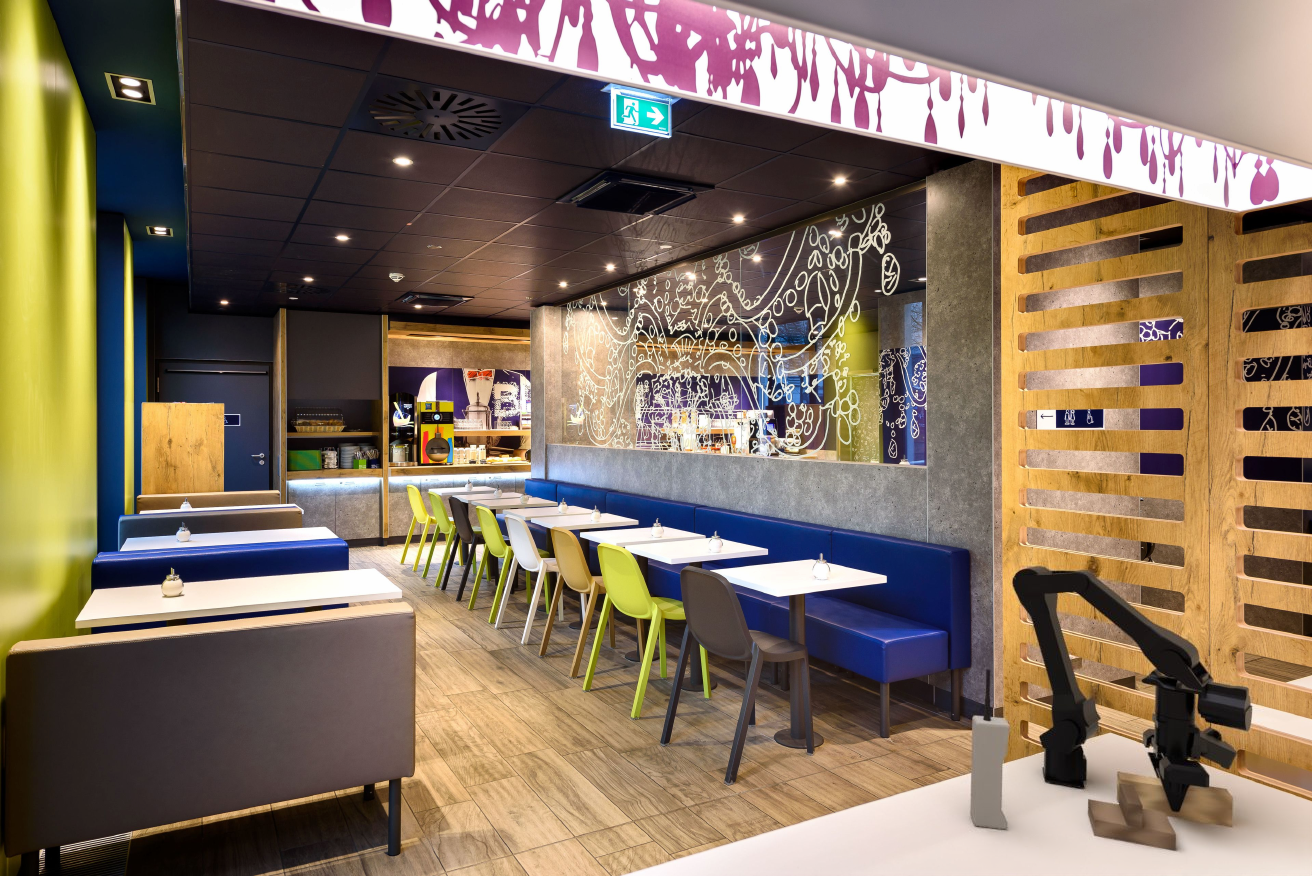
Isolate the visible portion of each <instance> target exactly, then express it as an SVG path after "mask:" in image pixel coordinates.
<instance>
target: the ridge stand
mask: <svg viewBox="0 0 1312 876" xmlns="http://www.w3.org/2000/svg"><path fill="white" fill-rule="evenodd" d="M1087 815H1088V820H1089V822H1090V825H1091V828H1092V832H1093V836H1095V837H1101V838H1108V839H1111V840H1112V839H1113V840H1117V841H1122V842H1123V841H1124V842H1128V843H1134V844H1138V845H1144V846H1150V847H1155V848H1160V849H1165V850H1171V851H1176V849H1177V846H1176V845H1177V833H1176V832H1175V829H1174V828H1173V825H1172V823H1171V822H1170V820H1169V818H1168V816H1166V814H1165V812H1160V811H1154V810H1148V809H1143V805H1142V803H1141V801H1140V799H1139V797H1138V795H1137V792H1136V790H1135V788H1134V786H1133V785H1127V784H1121V783H1119V804H1118V803H1112V802H1107V801H1102V800H1097V799H1096V800H1095V799H1090V798H1088V799H1087Z"/></svg>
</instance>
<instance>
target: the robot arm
mask: <svg viewBox="0 0 1312 876" xmlns="http://www.w3.org/2000/svg"><path fill="white" fill-rule="evenodd" d="M1011 581H1012V582H1011V583H1012V584H1011V585H1012V588H1013V590H1014V592H1015V595H1016V596H1017V599H1018V601H1019V602H1020V603H1019V604H1021V606H1022V607H1023V609H1024V610H1025V611H1026V612H1027V614H1028V616H1029V617H1030V619H1031V621H1032V622H1031V623H1032V626H1033V630H1034V633H1035V637H1036V640H1037V644H1038V646H1039V650H1040V653H1041V657H1042V660H1043V663H1044V664H1043V665H1044V668H1045V671H1046V674H1047V678H1048V682H1049V685H1050V689H1051V691H1052V692H1051V693H1052V698H1051V699H1052V700H1051V709H1050V710H1051V720H1052V721H1051V722H1052V727H1051V728H1049V729H1047V730H1046V731H1045V732H1043V733H1041V734H1040V735H1039V737H1038V738H1039V741H1040V744H1041V747H1042V749H1043V766H1042V767H1041V768H1042V770H1041V771H1042V774H1043V780H1044V782H1046V783H1050V784H1057V785H1063V786H1068V787H1073V788H1078V789H1079V788H1081V789H1085V787H1086V786H1085V783H1086V782H1087V773H1088V759H1087V756H1086V755H1085V754H1084V753H1085V752H1084V749H1083V746H1082V745H1085V744H1086V742H1087V741H1088V739H1090V738H1091V737H1093V736H1094V735H1096V733H1097V732H1098V730H1099V721H1100V720H1102V718H1101V716H1100V714H1099V713H1098V710H1097V708H1096V701H1095V697H1093V696H1090V697H1086V696H1085V695H1084V693H1083V692H1082V691H1081V689H1080V688H1079V685H1078V682H1077V681H1078V680H1077V678H1076V674H1075V671H1074V667H1073V664H1072V661H1071V657H1070V654H1069V650H1068V647H1067V644H1066V641H1065V637H1064V636H1065V635H1064V633H1063V630H1062V626H1061V624H1060V621H1059V616H1058V612H1057V611H1058V610H1057V609H1058V597H1059V594H1067V593H1069V594H1070V593H1075V594H1077V595H1079V596H1080V598H1082V599H1083V600H1085V601H1086V602H1087V603H1089V604H1090V606H1092V607H1094V608H1095V610H1097V611H1098V612H1099V613H1100V614H1102V615H1103V616H1104V617H1106V619H1108V620H1109V621H1110V622H1111V623H1112V624H1114V625H1115V626H1116V627H1118V628H1119V629H1120V630H1121V631H1122V632H1124V633H1125V634H1126V635H1128V636H1129V638H1131V639H1132V641H1134V642H1135V644H1136V645H1137V646H1138V648H1139V649H1140V651H1141V652H1142V654H1143V656H1145V658H1146V659H1147V660H1148V661H1149V663H1151V664H1152V665H1153V667H1154V669H1153V670H1152V671H1151V672H1149V674H1148V675H1146V676H1145V677H1143V678H1142V679H1141V683H1142V684H1145V685H1146V684H1147V685H1150V686H1154V687H1155V694H1154V698H1155V699H1154V713H1152V714H1151V720H1152V721H1153V723H1154V728H1148V729H1146V730H1144V731H1143V732H1142V744H1143V745H1144V748H1146V749H1150V748H1151V746H1152V748H1153V749H1152V751H1148V752H1147V756H1148V758H1149V761H1150V762H1151V765H1152V767H1153V771H1154V773H1155V775H1156V778H1160V781H1161V783H1162V786H1163V789H1164V792H1165V794H1166V797H1167V800H1168V802H1169V805H1170V808H1171V810H1172V811H1173V812H1180V809H1181V806H1182V804H1183V801H1184V798H1185V796H1186V793H1187V790H1188V788H1189V786H1190V785H1192V786H1199V787H1205V788H1207V787H1209V786H1210V774H1209V773H1208V771H1207V770H1206V768H1205V767H1204V766H1203V765H1202V764H1201V763H1200V762H1199V761H1200V760H1201V758H1202V757H1203V758H1204V759H1207V760H1209V761H1211V762H1213V763H1215V764H1217V765H1219V766H1220V768H1223V769H1226V770H1230V769H1231V766H1232V764H1233V763H1234V761H1235V759H1236V756H1237V754H1238V752H1237V750H1236V749H1235V748H1234V747H1233V746H1232V745H1231V744H1229V743H1228V742H1227V741H1226V740H1223V737H1222V734H1221V732H1220V731H1219V730H1217V729H1215V728H1212V727H1210V726H1209V727H1208V728H1205V729H1204V730H1201V729H1200V728H1199V727H1198V725H1196V709H1197V713H1198V715H1200V718H1201V719H1204V720H1205V721H1204V722H1206V723H1208V724H1212V725H1213V724H1214V725H1217V726H1221V727H1227V728H1230V729H1236V730H1240V731H1244V732H1249V731H1250V728H1251V724H1252V719H1253V705H1252V703H1251V697H1250V694H1249V693H1250V689H1249V688H1248V687H1246V686H1243V685H1231V684H1227V683H1220V682H1214V678H1213V677H1212V675H1211V674H1210V672H1209V671H1208V670H1207V668H1206V667H1205V666H1204V664H1203V663H1202V662H1201V661H1200V654H1199V650H1198V648H1197V647H1196V646H1195V645H1194V643H1192V642H1191V641H1189V640H1188V639H1186V638H1184V637H1183V636H1180V635H1179V634H1177V633H1175V632H1174V631H1172V630H1169V629H1167V628H1165V627H1163V626H1161V625H1159V624H1157V623H1155V622H1153V621H1152V620H1150V619H1149V618H1147V617H1146V616H1145V615H1144V613H1142V612H1140V611H1139V610H1137V609H1136V608H1135V607H1134V606H1133V605H1131V604H1130V603H1129V602H1127V600H1125V599H1124V598H1123V597H1121V596H1120V595H1119V594H1117V593H1116V592H1115V591H1114V590H1113V589H1111V588H1110V587H1109V586H1108V585H1106V584H1105V583H1104V582H1103V581H1101V580H1100V579H1099V578H1097V577H1096V575H1095V574H1094V573H1093V572H1092V571H1090V570H1088V569H1079V570H1050V569H1049V568H1047V567H1046V566H1041V565H1034V566H1029V567H1026V568H1022V569H1019V570H1018V571H1016V573H1015V574H1014V576H1013V577H1012V580H1011ZM1196 695H1197V702H1196ZM1196 703H1197V704H1196ZM1196 705H1197V708H1196ZM1189 758H1191V759H1189Z"/></svg>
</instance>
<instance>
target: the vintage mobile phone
mask: <svg viewBox="0 0 1312 876" xmlns="http://www.w3.org/2000/svg"><path fill="white" fill-rule="evenodd" d="M985 673H986V674H985V675H986V676H985V698H984V714H983V715H973V716H972V722H971V724H972V725H971V728H972V729H971V730H972V731H971V764H970V766H971V768H970V770H971V771H970V774H971V775H970V810H969V811H970V813H969V814H970V817H971V820H972V822H973V824H974V826H975V827H977V826H979V828H986V827H988V829H995V828H1000V829H999V830H1003V829H1006V830H1008V821H1007V819H1006V816H1005V814H1004V812H1003V810H1002V807H1003V804H1002V803H1003V764H1004V761H1005V758H1006V756H1007V755H1008V754H1007V753H1008V745H1009V738H1010V737H1009V735H1010V728H1011V726H1010V724H1009V723H1008V721H1007V719H1006V718H1005V717H995V716H994V717H993V716H991V669H989V668H987V669H986V670H985Z"/></svg>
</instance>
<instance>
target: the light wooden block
mask: <svg viewBox="0 0 1312 876" xmlns="http://www.w3.org/2000/svg"><path fill="white" fill-rule="evenodd" d="M1116 777H1117V781H1116V782H1117V783H1116V785H1117V786H1116V801H1117V804H1118V803H1119V783H1121V784H1127V785H1133V786H1134V788H1135V790H1136V792H1137V795H1138V797H1139V799H1140V801H1141V803H1142V805H1143V809H1148V810H1154V811H1160V812H1165V814H1166V816H1167V817H1170V818H1176V819H1183V820H1187V821H1193V822H1200V823H1205V824H1211V825H1215V826H1216V825H1217V826H1222V827H1228V828H1233V814H1234V813H1233V810H1234V808H1233V807H1234V797H1233V796H1232V794H1231V793H1230V792H1229V790H1228V789H1227V788H1224V787H1218V786H1216V787H1215V786H1210V785H1209V787H1207V788H1205V787H1199V786H1192V785H1190V786H1189V788H1188V790H1187V793H1186V796H1185V798H1184V801H1183V804H1182V806H1181V809H1180V812H1173V811H1172V810H1171V808H1170V805H1169V802H1168V800H1167V797H1166V794H1165V792H1164V789H1163V786H1162V783H1161V781H1160V778H1157V777H1154V776H1146V775H1140V774H1134V773H1128V772H1123V771H1122V772H1121V771H1117V776H1116Z"/></svg>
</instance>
